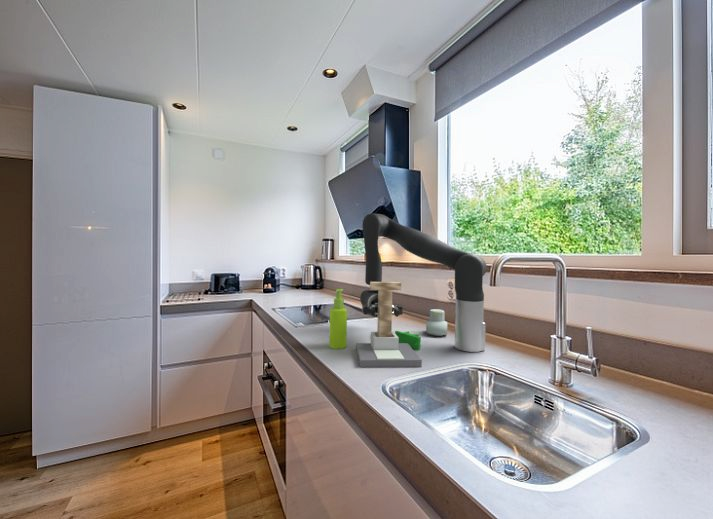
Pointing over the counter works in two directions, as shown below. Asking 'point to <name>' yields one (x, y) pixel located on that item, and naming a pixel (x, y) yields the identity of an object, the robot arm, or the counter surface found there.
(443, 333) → the air freshener
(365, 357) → the grey base plate
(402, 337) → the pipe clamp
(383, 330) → the T-key
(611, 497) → the counter surface
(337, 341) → the soap dispenser
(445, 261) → the robot arm
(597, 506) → the counter surface
